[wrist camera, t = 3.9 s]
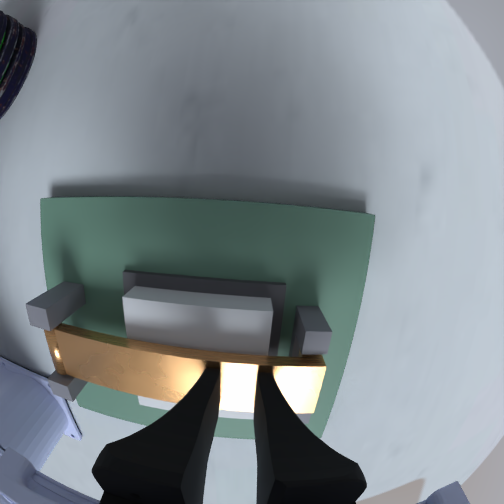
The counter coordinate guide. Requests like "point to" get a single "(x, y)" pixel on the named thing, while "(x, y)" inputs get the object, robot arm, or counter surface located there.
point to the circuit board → (203, 286)
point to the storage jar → (14, 58)
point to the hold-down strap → (180, 369)
